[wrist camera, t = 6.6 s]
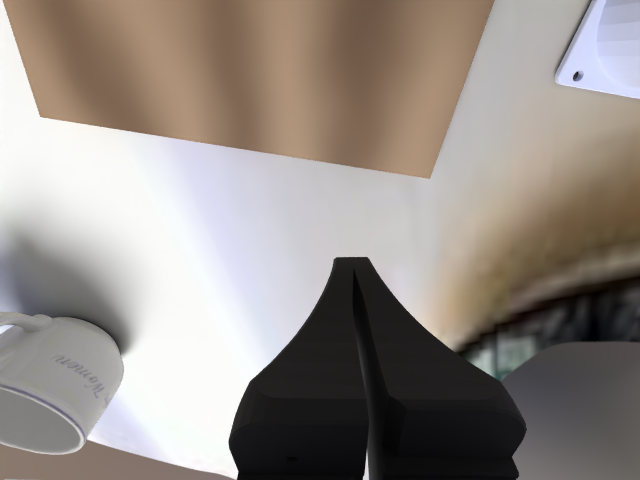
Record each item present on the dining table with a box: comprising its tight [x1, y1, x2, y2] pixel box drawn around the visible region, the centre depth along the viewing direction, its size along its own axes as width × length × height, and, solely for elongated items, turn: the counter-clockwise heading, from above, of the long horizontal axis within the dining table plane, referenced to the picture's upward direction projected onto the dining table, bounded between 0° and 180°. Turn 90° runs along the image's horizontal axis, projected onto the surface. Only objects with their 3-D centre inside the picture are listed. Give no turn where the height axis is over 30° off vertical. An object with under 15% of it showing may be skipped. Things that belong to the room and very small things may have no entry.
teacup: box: [0, 312, 124, 455], centre depth 25 cm, size 14×11×8 cm
